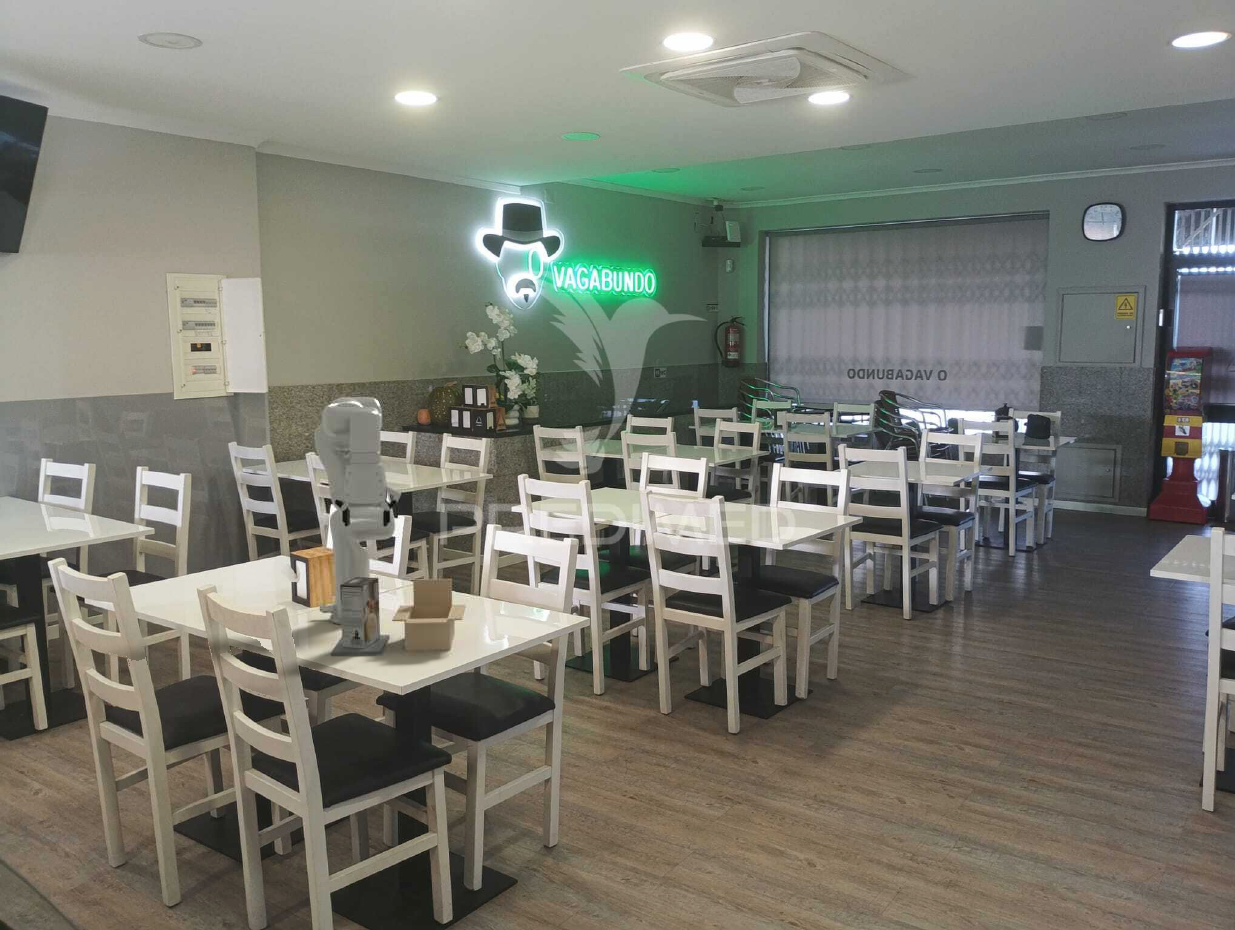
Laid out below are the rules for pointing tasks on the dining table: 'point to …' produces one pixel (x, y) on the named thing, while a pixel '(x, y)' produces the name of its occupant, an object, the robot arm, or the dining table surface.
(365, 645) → the coffee box
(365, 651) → the tray
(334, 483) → the robot arm
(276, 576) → the dining table surface
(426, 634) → the carton
